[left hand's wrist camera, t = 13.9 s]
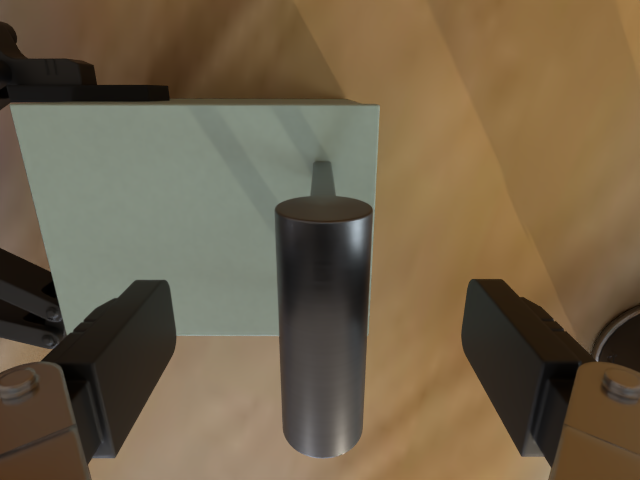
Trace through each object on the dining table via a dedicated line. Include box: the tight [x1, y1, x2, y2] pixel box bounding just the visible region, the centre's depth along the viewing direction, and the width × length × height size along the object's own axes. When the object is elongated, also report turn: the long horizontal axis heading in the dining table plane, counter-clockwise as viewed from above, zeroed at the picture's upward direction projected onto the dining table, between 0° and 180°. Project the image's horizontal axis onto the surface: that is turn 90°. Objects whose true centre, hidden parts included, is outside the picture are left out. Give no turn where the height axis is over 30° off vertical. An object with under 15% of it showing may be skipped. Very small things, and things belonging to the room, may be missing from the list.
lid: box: [10, 103, 380, 458], centre depth 13 cm, size 14×10×9 cm
